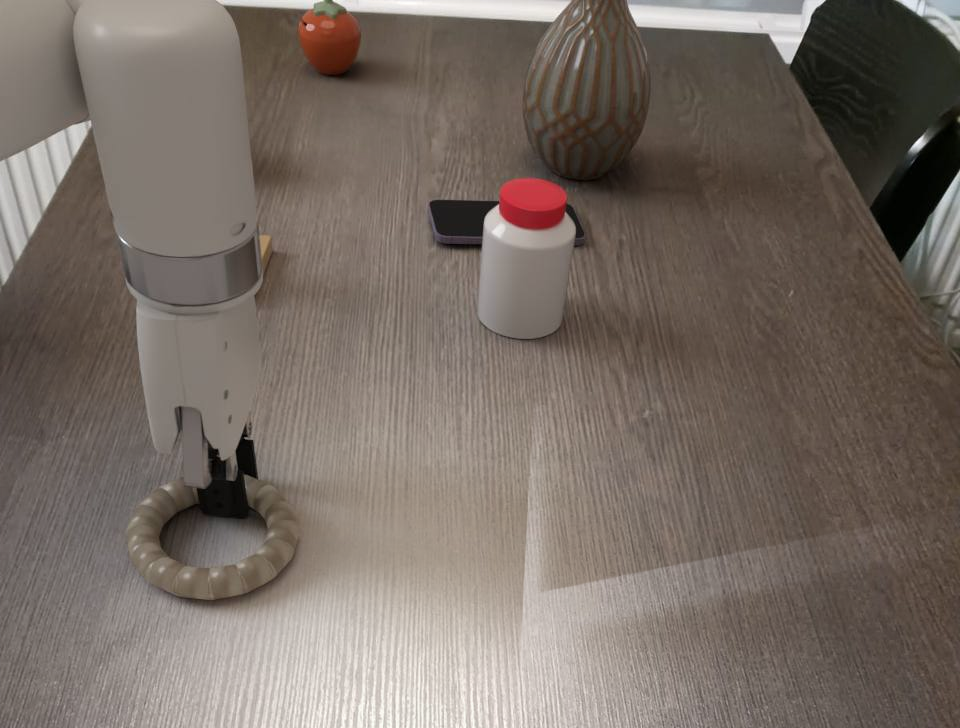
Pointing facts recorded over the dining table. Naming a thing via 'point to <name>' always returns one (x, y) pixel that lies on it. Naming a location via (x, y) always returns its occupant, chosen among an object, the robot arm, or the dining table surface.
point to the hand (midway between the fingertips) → (230, 497)
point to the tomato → (329, 37)
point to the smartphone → (473, 220)
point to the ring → (217, 579)
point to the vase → (587, 89)
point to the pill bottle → (526, 260)
